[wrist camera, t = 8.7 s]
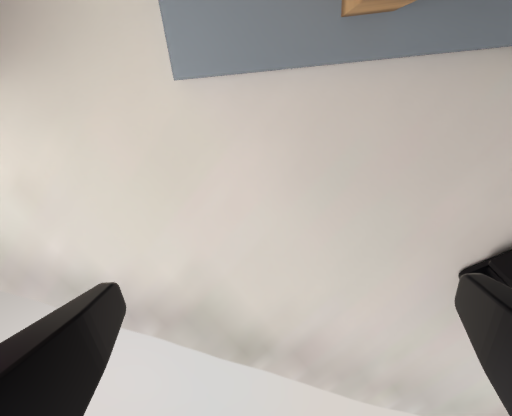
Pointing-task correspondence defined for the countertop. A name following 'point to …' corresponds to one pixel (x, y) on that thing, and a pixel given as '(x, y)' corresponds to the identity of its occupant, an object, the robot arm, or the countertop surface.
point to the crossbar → (370, 6)
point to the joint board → (321, 33)
